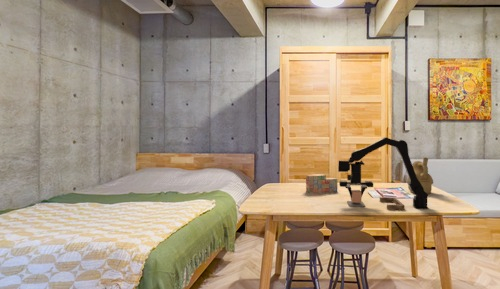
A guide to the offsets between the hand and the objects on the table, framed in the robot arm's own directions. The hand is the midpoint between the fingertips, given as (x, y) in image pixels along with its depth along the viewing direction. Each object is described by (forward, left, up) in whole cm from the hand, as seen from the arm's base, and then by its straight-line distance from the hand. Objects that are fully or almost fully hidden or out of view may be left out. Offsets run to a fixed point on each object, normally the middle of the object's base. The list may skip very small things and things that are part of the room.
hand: (355, 198), depth 204 cm
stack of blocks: (+19, -38, -4) cm, 42 cm away
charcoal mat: (0, 0, -4) cm, 4 cm away
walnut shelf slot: (-20, 0, -4) cm, 20 cm away
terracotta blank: (0, 0, -2) cm, 2 cm away
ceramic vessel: (-48, -42, -4) cm, 64 cm away
